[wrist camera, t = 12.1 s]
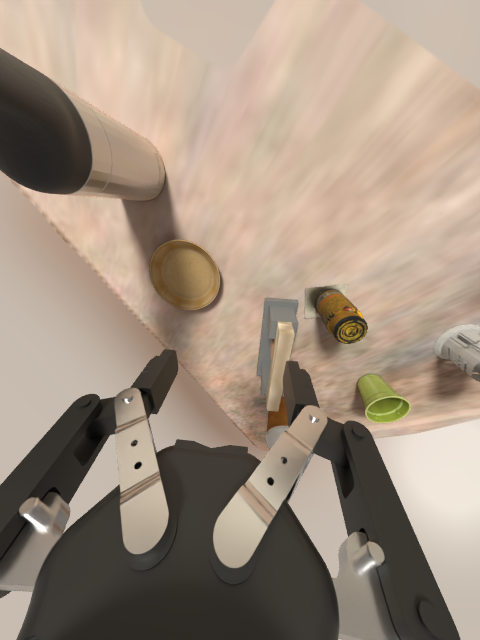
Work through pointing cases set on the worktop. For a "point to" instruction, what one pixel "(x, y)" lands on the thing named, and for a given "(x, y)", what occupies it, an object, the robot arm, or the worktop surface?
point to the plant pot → (381, 400)
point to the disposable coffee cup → (276, 424)
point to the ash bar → (279, 364)
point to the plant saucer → (184, 275)
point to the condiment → (336, 312)
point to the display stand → (273, 333)
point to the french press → (461, 348)
